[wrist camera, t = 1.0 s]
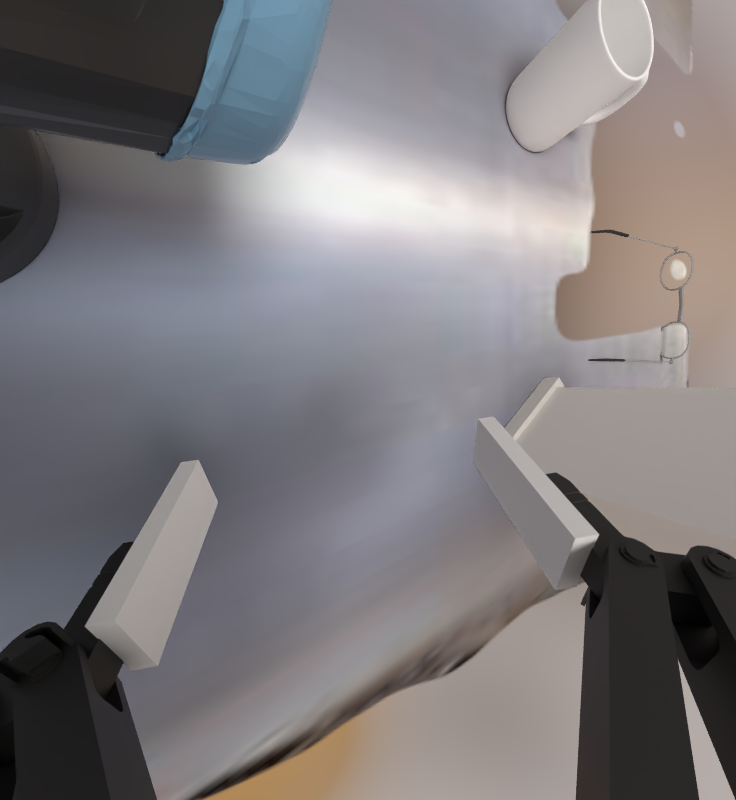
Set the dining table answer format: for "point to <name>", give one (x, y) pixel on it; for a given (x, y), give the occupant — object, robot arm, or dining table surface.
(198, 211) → the dining table surface
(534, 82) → the cup
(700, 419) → the pedestal
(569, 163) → the dining table surface
